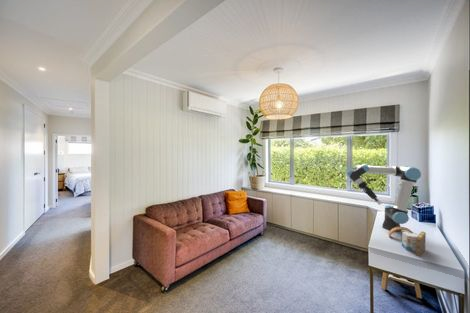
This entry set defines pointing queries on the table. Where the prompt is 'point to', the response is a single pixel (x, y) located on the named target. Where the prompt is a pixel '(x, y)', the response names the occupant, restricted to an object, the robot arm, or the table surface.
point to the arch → (398, 229)
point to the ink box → (409, 241)
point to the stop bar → (420, 243)
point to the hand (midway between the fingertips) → (380, 203)
